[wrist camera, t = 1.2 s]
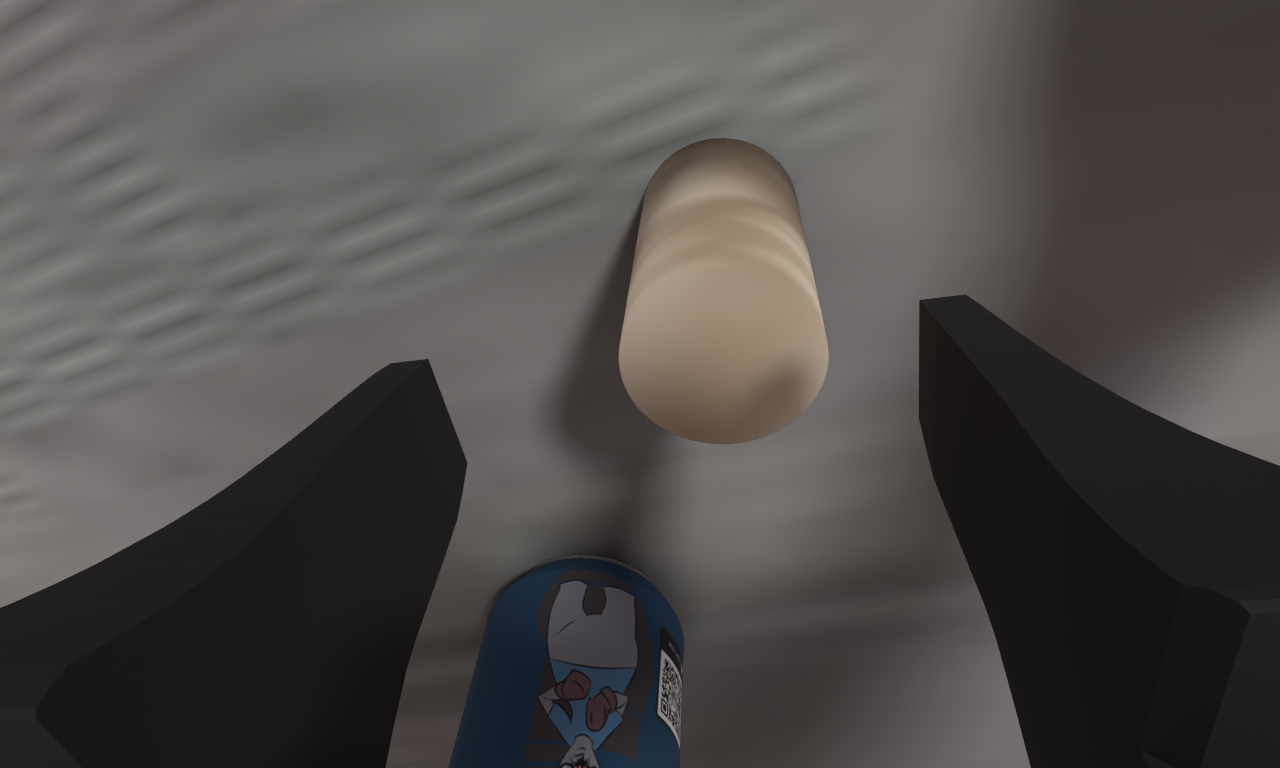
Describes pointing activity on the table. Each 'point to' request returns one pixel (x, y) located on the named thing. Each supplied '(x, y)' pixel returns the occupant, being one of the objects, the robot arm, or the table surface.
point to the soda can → (576, 673)
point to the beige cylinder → (722, 298)
